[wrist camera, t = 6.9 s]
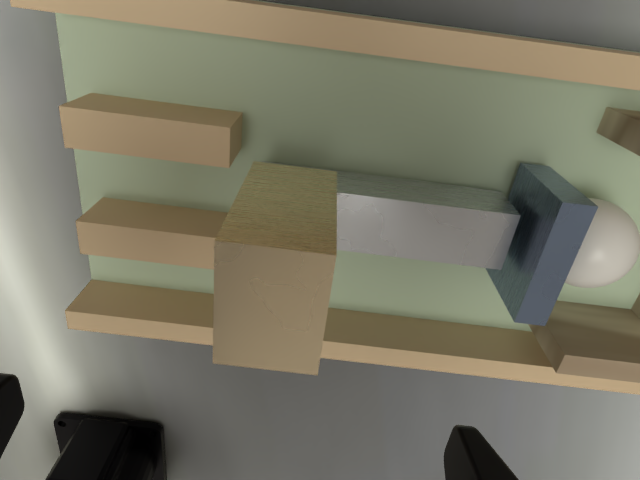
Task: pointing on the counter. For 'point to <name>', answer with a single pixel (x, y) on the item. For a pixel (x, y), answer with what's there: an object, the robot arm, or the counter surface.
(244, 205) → the tan and grey block
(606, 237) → the ball
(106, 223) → the pitch
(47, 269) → the counter surface
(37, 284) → the counter surface
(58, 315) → the counter surface
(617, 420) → the counter surface
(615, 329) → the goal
